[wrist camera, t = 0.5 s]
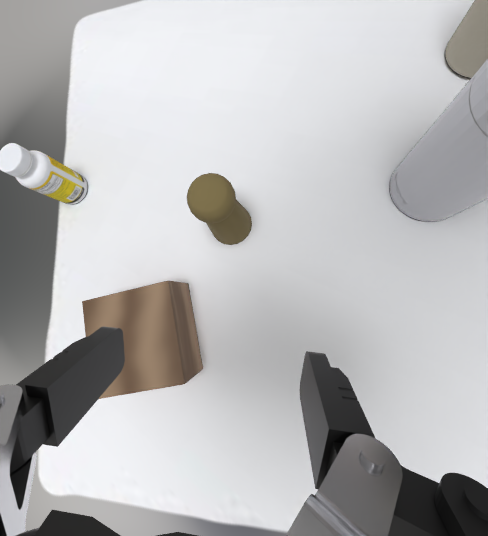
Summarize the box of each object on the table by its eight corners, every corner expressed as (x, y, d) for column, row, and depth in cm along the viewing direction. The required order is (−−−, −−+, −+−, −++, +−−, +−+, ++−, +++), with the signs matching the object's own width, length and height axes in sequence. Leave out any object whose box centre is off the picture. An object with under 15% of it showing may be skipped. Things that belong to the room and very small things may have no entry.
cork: (203, 229, 36) (166, 200, 25) (227, 196, 36) (201, 153, 25) (234, 253, 34) (210, 232, 24) (260, 219, 34) (247, 182, 23)
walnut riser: (188, 283, 35) (168, 280, 29) (202, 368, 33) (184, 384, 27) (115, 300, 37) (82, 301, 31) (125, 382, 35) (92, 399, 29)
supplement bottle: (62, 176, 41) (-6, 140, 32) (89, 173, 40) (28, 134, 31) (59, 206, 41) (-11, 178, 31) (87, 203, 40) (24, 174, 30)
